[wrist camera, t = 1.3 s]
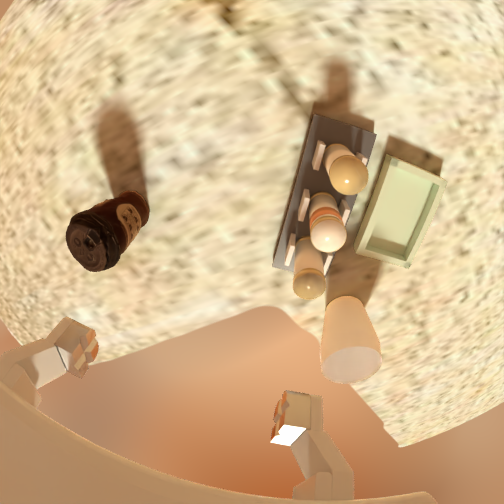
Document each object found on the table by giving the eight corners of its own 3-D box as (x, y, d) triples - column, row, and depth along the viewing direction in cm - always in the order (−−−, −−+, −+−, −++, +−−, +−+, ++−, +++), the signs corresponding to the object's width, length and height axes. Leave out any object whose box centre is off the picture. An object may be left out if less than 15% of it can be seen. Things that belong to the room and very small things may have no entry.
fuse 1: (298, 232, 38) (298, 269, 30) (324, 239, 38) (330, 277, 30) (291, 255, 40) (289, 295, 32) (316, 261, 40) (319, 302, 32)
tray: (386, 153, 32) (392, 157, 30) (439, 176, 32) (447, 181, 30) (352, 244, 39) (355, 253, 37) (403, 259, 39) (408, 268, 37)
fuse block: (313, 113, 31) (316, 115, 27) (373, 133, 31) (384, 138, 27) (273, 261, 43) (269, 280, 38) (323, 274, 42) (325, 294, 38)
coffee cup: (154, 183, 39) (104, 219, 28) (160, 234, 43) (119, 281, 32) (108, 184, 40) (54, 217, 29) (116, 230, 44) (71, 273, 33)
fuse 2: (326, 139, 31) (336, 151, 24) (354, 148, 31) (373, 164, 24) (318, 167, 33) (325, 188, 26) (346, 175, 33) (361, 199, 25)
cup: (367, 327, 47) (377, 381, 36) (318, 330, 49) (319, 385, 38) (372, 287, 42) (388, 342, 32) (317, 290, 44) (320, 347, 34)
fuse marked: (312, 188, 35) (316, 215, 27) (339, 196, 35) (351, 225, 27) (304, 213, 37) (306, 247, 29) (331, 221, 37) (339, 256, 29)
